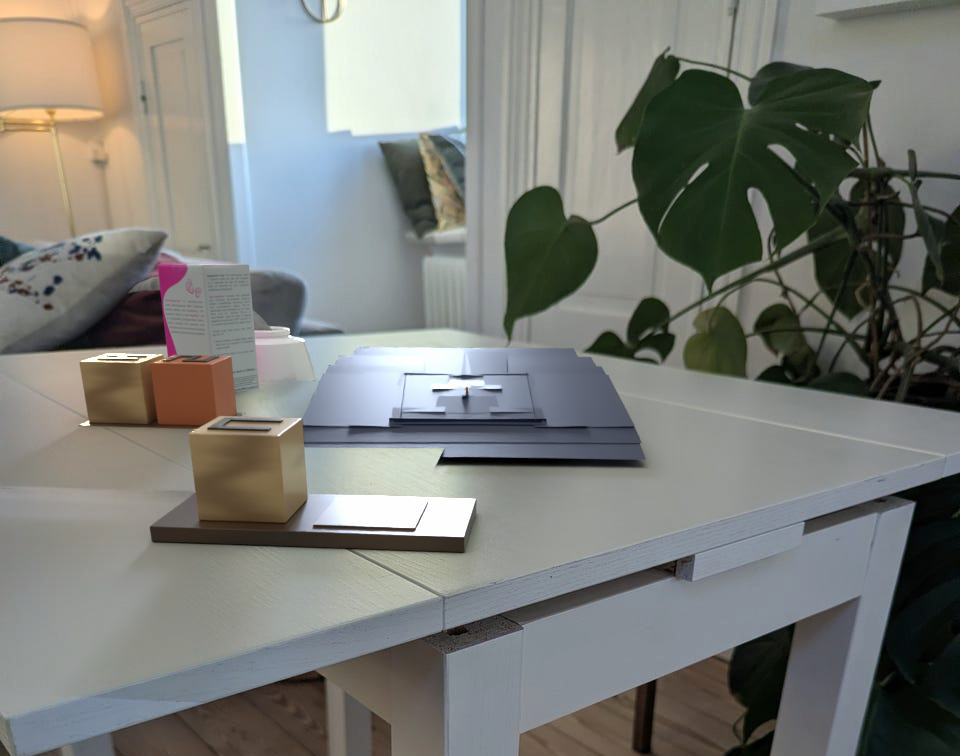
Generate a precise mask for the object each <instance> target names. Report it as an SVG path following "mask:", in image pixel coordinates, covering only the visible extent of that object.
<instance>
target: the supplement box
mask: <svg viewBox="0 0 960 756" xmlns="http://www.w3.org/2000/svg"><path fill="white" fill-rule="evenodd" d="M250 271H251V270H250V265H249V264H248V263H247V264H246V263H218V262H217V263H213V262H212V263H211V262H209V263H208V262H206V263H205V262H204V263H203V262H202V263H201V262H200V263H158V264H157V274H158V276H159V283H160V290H159V291H160V298H161V308H162V319H163V326H164V334H165V344H166V353H167V357H170V356H173V355H203V356H231V357H232V368H233V378H234V389H235V393H238V392H239V393H240V392H243V391H244V392H245V391H250V390H254V389H255V390H256V389H259V388H260V381H258V369H257V357H256V344H255V332H254V320H253V311H254V308H253V307H254V306H253V297H252V296H253V295H252V286H251V285H252V284H251V273H250Z"/></svg>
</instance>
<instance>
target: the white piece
mask: <svg viewBox="0 0 960 756" xmlns="http://www.w3.org/2000/svg"><path fill="white" fill-rule="evenodd" d="M142 291H160V283H159V275H157V276H153V277H150V278H147V279H145V280H143V281H140V282H138V283H137V284H135V285H134V286H133V287H132V288H131V289H130V290H129V291H128V294H132V293H137V292H142ZM253 320H254V332H255V344H256V357H257V369H258V381H259V382H271V381H272V382H275V381H277V382H278V381H291V382H294V381H295V382H316V381H317V376H316V373H315V369H314V366H313V363H312V360H311V357H310V353H309V351H308V348H307V344H306V343H305V339H304V338H302V337H299V336H294V335H290V334H291V330H290V328H289V327H286V326H276V325H275V326H272V325H269V324H267V322H266V321H265V320H264V319H263V317H262V316H261V315H259V313H257V312H256V311H255V310H253Z"/></svg>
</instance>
